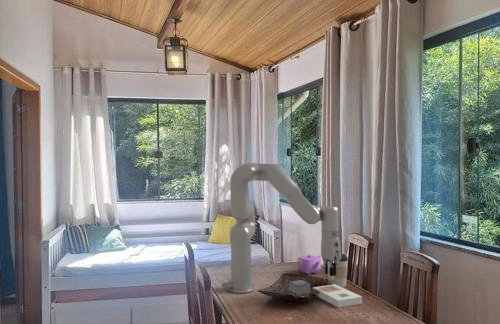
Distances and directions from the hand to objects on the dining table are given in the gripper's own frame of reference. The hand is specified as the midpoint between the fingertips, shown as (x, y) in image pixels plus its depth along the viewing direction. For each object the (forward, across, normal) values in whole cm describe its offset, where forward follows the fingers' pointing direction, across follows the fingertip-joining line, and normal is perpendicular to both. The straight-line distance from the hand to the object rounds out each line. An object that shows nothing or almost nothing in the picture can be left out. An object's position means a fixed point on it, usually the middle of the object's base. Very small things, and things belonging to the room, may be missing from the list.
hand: (330, 274), depth 198 cm
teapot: (+10, +36, -11) cm, 39 cm away
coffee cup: (+10, +12, -13) cm, 20 cm away
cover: (+9, +5, +13) cm, 17 cm away
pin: (+2, 0, 0) cm, 2 cm away
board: (+10, -5, 0) cm, 11 cm away
